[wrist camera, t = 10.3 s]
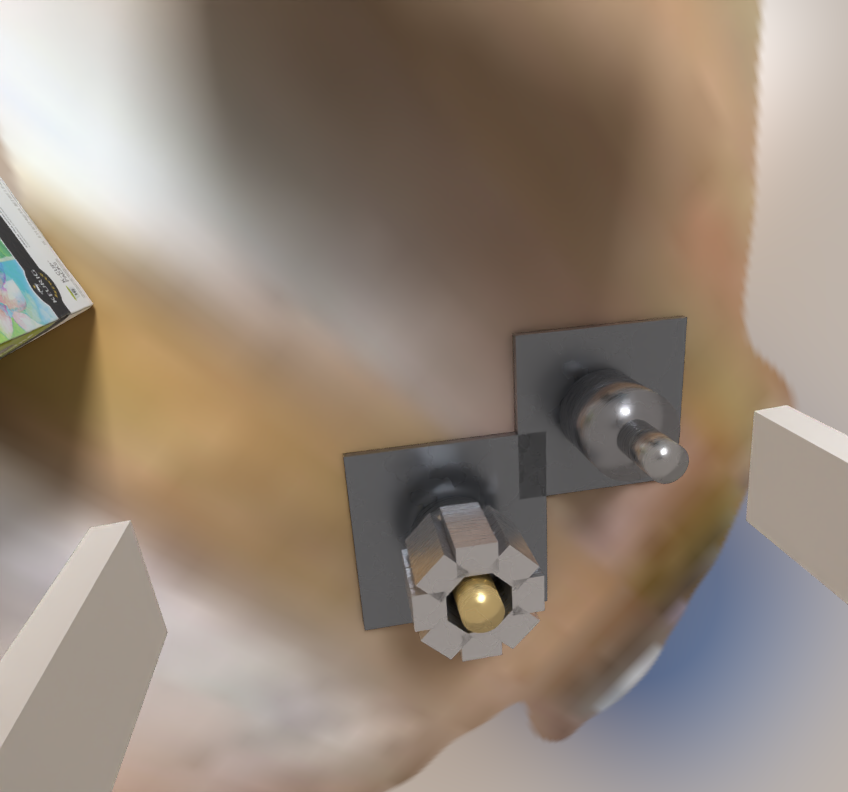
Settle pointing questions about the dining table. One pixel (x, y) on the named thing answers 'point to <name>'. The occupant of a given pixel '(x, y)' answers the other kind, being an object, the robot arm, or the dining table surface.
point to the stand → (601, 403)
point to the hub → (438, 516)
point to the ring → (462, 557)
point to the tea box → (31, 280)
